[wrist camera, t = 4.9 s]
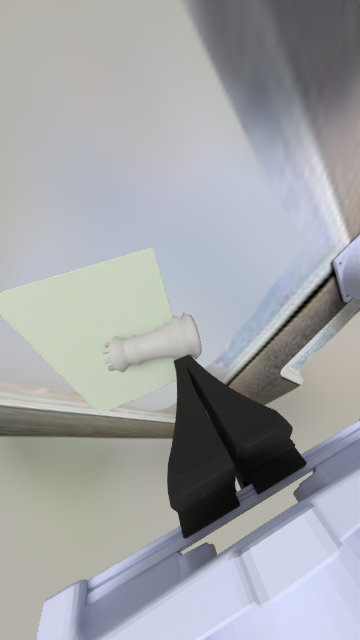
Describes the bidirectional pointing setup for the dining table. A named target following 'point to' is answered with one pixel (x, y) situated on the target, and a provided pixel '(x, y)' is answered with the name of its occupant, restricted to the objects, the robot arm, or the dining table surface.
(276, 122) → the dining table surface
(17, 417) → the dining table surface
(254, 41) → the dining table surface
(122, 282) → the mat
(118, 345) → the rook chess piece
